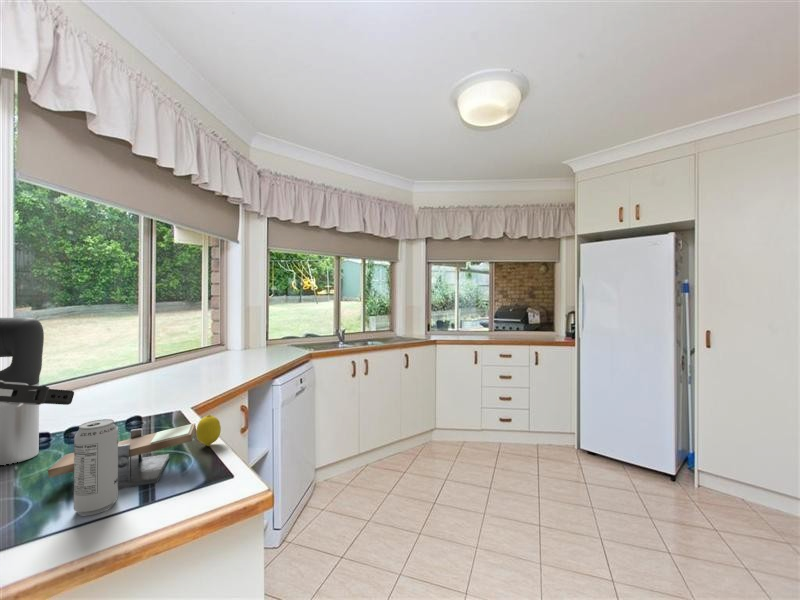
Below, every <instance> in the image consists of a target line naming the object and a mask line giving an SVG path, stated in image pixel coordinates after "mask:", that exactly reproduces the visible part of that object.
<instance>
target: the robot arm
mask: <svg viewBox="0 0 800 600" xmlns="http://www.w3.org/2000/svg"><path fill="white" fill-rule="evenodd" d="M44 338H45V333H44V327H43V325H42V323H41V321H40V320H39V319H37V318H34V317H0V358H11V362H10V364H9V366H7V367H6V368H4V369H1V370H0V465H4V466H7V465H6V464H9V465H13V464H12V463H14V464H18V463H21V462H24V461H27V460H30V459H32V458H35V457H36V456H38V455H39V451H40V450H39V445H40V444H39V443H40V441H39V439H40V438H39V437H40V405H45V404H46V405H65V406H66V405H67V406H68V405H71V403H73V398H74V396H75V391H73V390H69V389H55V388H50V386H47V385H42V386H40V376H41V371H42V368H43V354H44V353H43V351H44ZM17 462H18V463H17Z"/></svg>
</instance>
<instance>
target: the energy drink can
mask: <svg viewBox="0 0 800 600" xmlns="http://www.w3.org/2000/svg"><path fill="white" fill-rule="evenodd" d="M78 428H79V429H78V430H77V432H76V433H75V435H74V438H73V441H74V444H73V445H74V446H73V447H74V449H73V453H74V471H73V509H74V511H75V512H77V514H78V515H79V516H83V517H84V516H85V517H86V516H93V515H97V514H100V513H101V514H102V512H105V511H107V510H109V509H110V508H112V507H113V506H114V505H115V502H116V501H117V499H118V498H119V493H118V492H119V489H118V442H119V428H118V427H117V426H116V424H115V420H114V419H111V418H105V419H97V420H95V419H94V420H92V421H87V422H84V423H81V424H80V425H78Z"/></svg>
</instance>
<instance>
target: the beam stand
mask: <svg viewBox="0 0 800 600" xmlns="http://www.w3.org/2000/svg"><path fill="white" fill-rule="evenodd" d="M143 430H144V429H143V427H141V428H135V429H133V428H132V429H131V430H130V439H132V438H136V437H140V436H144V435H143V434H144V433H143V432H144V431H143ZM168 460H170V454H169V453H167V454H166V453H164V454H159V455H152V456H151V455H150V456H145V457H144V456H143V454H140V455H136V456H132V457H130V444H123V445H118V490H121V489H127V488H132V487H138V486H145V485H151V484H157V483H158V482H159V480H160V478H161V475H162V474H163V472H164V470H165V467H166V465H167V463H168Z"/></svg>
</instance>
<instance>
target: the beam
mask: <svg viewBox="0 0 800 600" xmlns="http://www.w3.org/2000/svg"><path fill="white" fill-rule="evenodd" d="M196 430H197V425H196V423H189V424H186V425H181V426H177V427H174V428H169V429H165V430H160V431H157V432H154V433H149V434H146V435H145V434H144V435H143V436H140V437H136V438H132V439H131V438H129V439H124V440H120V441H118V445H123V444H130V457H132V456H136V455H140V454H142V455H143V454H147V453H151V452H154V451H159V450H162V449H166V448H170V447H174V446H178V445H182V444H185V443H190V442H193V439H194V437H195V434H196ZM68 473H69V474H70V473H74V452H71V453H67V454H64V455H63V457H61V458H60V459H59V460H58V461H56V462H55V463H54V464H53V465H52V466H50V467H49V468H48V469H47V474H48V478H53V477H57V476H61V475H65V474H68Z"/></svg>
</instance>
